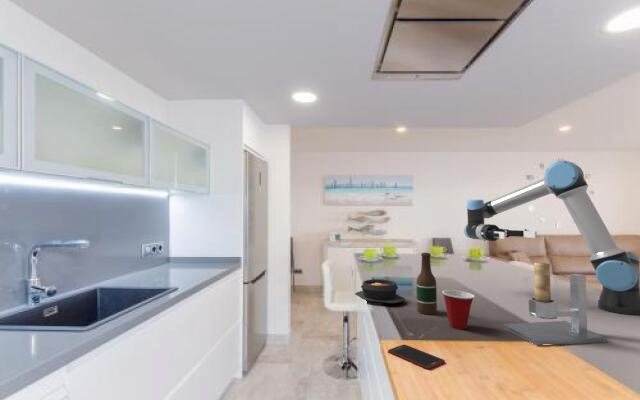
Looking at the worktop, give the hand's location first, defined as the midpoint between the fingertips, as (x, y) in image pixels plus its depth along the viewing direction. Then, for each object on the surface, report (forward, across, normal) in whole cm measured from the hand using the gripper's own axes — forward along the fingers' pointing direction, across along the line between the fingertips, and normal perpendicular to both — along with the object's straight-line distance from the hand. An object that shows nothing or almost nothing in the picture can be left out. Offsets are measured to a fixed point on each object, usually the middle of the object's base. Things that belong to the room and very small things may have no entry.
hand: (520, 235), depth 140 cm
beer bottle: (-7, +37, -31) cm, 49 cm away
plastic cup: (+11, +34, -31) cm, 47 cm away
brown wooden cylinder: (+23, +11, -24) cm, 35 cm away
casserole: (-28, +51, -31) cm, 66 cm away
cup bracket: (+23, +8, -31) cm, 40 cm away
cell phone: (+33, +59, -32) cm, 75 cm away
